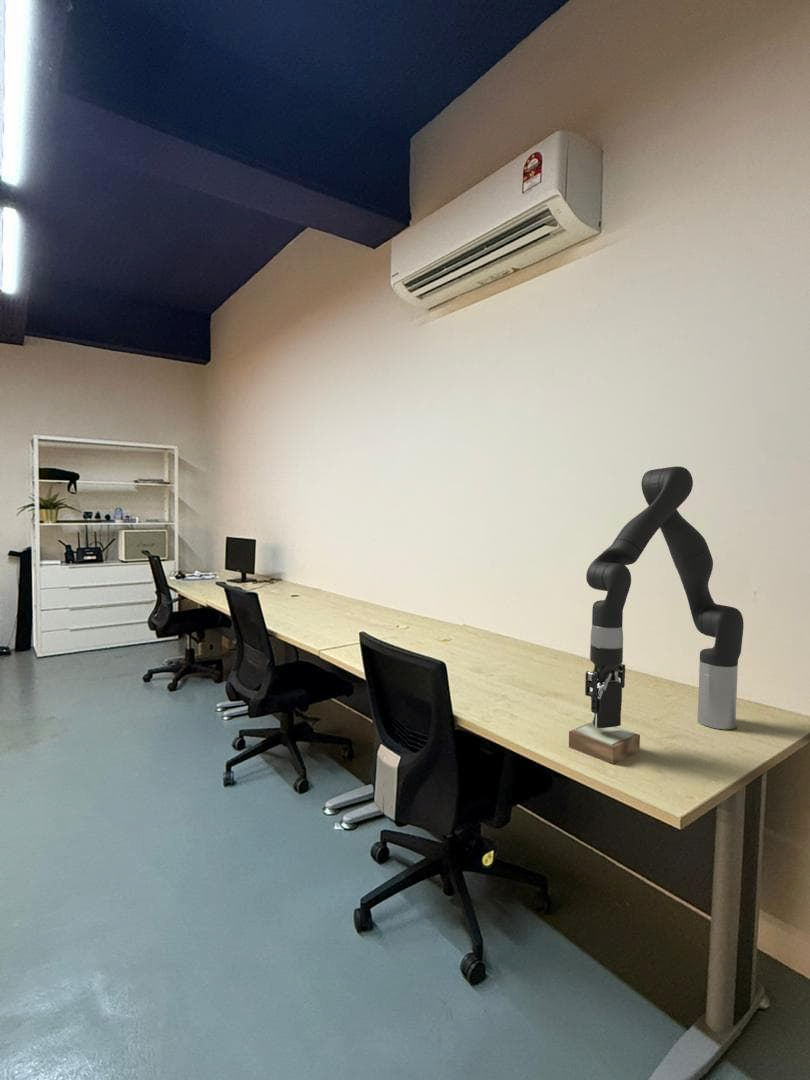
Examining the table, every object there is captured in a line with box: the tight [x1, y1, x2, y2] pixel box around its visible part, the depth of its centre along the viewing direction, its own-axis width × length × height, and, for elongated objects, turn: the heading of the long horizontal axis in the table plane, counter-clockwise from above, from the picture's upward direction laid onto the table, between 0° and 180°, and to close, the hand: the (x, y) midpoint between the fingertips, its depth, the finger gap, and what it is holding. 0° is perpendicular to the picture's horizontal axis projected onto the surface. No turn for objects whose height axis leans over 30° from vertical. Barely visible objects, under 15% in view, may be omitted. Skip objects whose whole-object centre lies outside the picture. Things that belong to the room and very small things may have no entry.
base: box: [568, 721, 641, 765], centre depth 136 cm, size 12×12×4 cm
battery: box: [592, 680, 623, 728], centre depth 136 cm, size 7×4×11 cm, turn 106°
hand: (604, 709), depth 136 cm, fingers closed on battery, 7 cm apart
